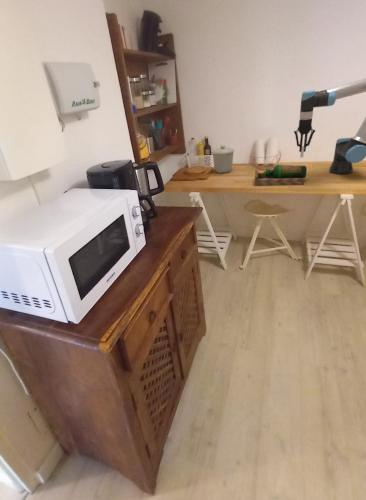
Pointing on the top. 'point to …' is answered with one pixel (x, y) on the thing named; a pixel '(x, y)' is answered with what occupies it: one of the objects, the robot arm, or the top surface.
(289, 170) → the bottle
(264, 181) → the u rest
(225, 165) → the canister
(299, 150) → the robot arm
